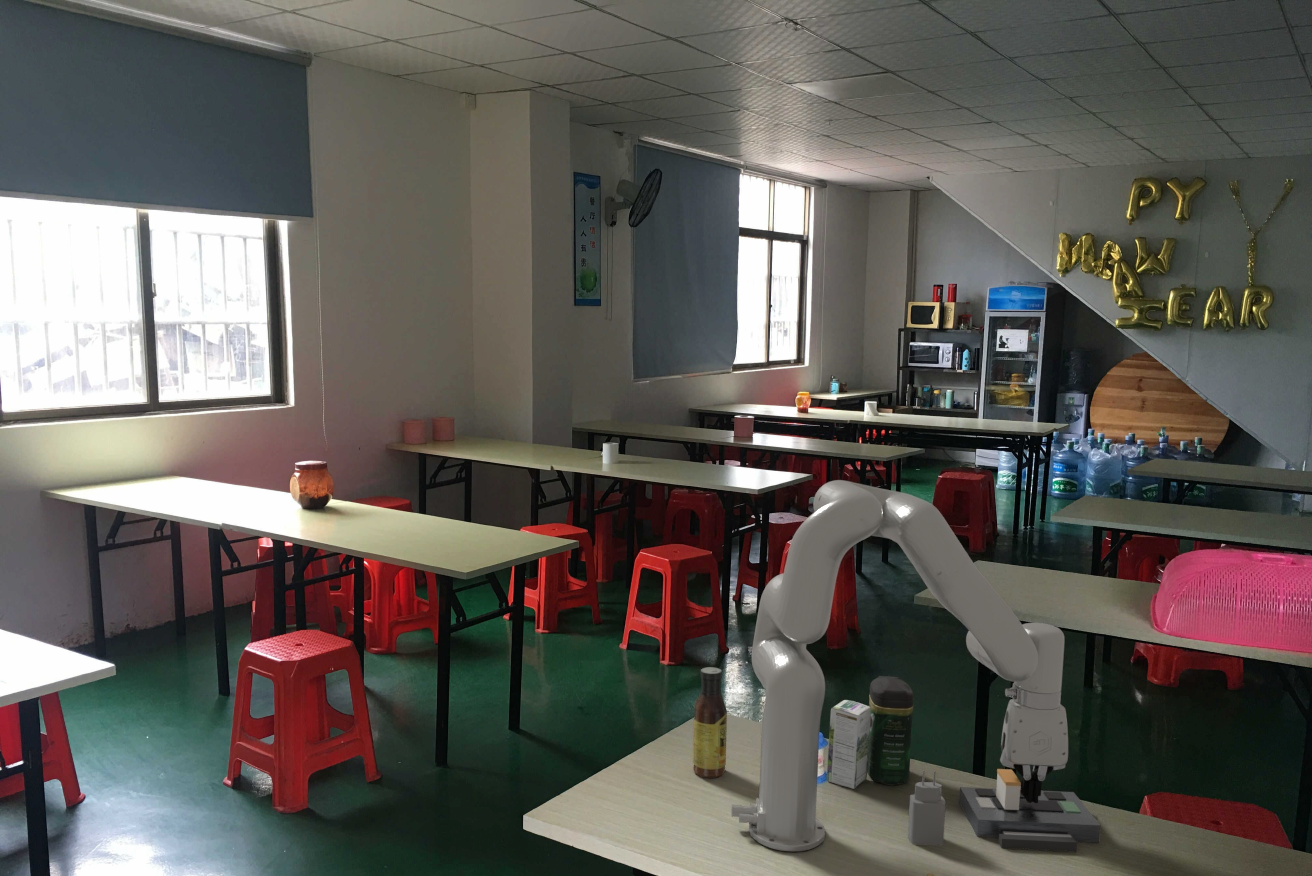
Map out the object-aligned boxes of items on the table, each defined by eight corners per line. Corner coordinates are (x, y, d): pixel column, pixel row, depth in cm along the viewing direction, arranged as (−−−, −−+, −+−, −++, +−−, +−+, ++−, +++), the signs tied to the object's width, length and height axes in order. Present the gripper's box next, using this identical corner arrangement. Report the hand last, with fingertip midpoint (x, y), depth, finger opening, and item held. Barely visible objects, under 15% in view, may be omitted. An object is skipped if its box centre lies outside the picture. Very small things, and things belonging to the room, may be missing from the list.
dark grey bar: (1001, 847, 160) (1002, 838, 160) (996, 838, 163) (996, 829, 163) (1076, 851, 159) (1076, 842, 159) (1069, 842, 162) (1070, 833, 162)
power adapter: (906, 835, 164) (910, 766, 162) (938, 835, 164) (942, 766, 162) (911, 844, 161) (915, 774, 159) (944, 845, 161) (948, 775, 159)
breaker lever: (1004, 809, 166) (1006, 781, 166) (995, 795, 172) (997, 768, 171) (1019, 810, 166) (1020, 782, 166) (1010, 796, 171) (1011, 769, 171)
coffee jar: (913, 788, 181) (918, 691, 179) (869, 785, 182) (874, 689, 180) (904, 765, 191) (908, 673, 189) (862, 763, 191) (867, 671, 189)
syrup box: (839, 770, 188) (842, 697, 186) (868, 779, 184) (871, 705, 183) (826, 781, 183) (829, 706, 181) (855, 790, 180) (858, 714, 178)
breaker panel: (977, 836, 164) (978, 818, 163) (959, 802, 176) (960, 785, 175) (1099, 842, 163) (1100, 824, 162) (1072, 808, 174) (1073, 790, 174)
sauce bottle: (726, 779, 183) (729, 677, 181) (692, 778, 183) (695, 676, 181) (724, 764, 189) (727, 665, 187) (692, 763, 189) (694, 664, 187)
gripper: (998, 702, 163) (992, 807, 165) (1089, 706, 163) (1082, 811, 164) (986, 686, 171) (980, 787, 173) (1073, 690, 170) (1066, 791, 172)
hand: (1030, 798), depth 169 cm, fingers closed
